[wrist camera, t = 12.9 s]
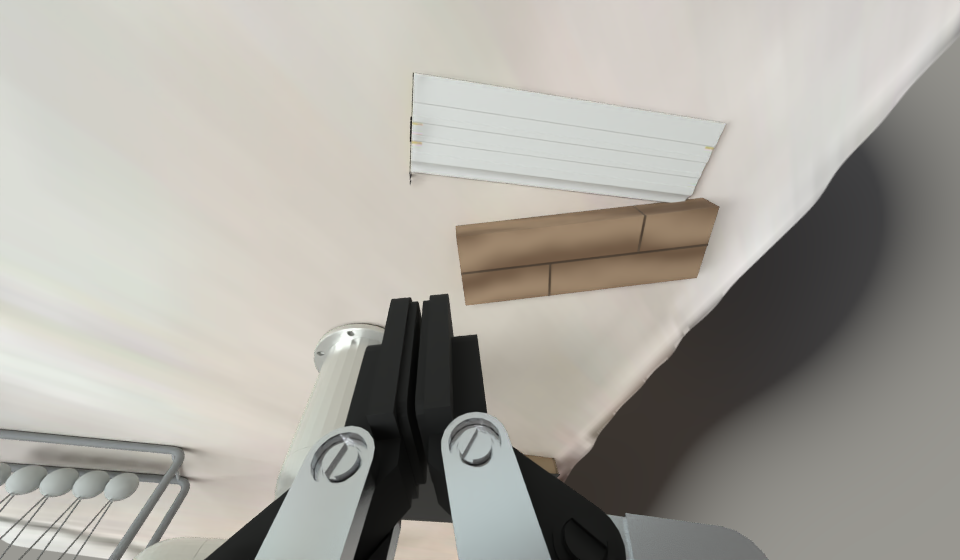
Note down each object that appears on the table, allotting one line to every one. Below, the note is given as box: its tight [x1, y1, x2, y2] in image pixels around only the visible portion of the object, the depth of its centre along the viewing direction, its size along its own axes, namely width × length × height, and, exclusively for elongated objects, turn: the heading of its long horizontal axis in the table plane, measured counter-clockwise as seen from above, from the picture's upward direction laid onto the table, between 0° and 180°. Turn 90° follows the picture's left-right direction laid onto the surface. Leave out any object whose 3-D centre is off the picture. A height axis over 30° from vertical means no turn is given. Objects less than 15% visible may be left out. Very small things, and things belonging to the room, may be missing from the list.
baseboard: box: [409, 73, 726, 203], centre depth 34 cm, size 30×3×10 cm
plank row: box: [456, 198, 719, 305], centre depth 39 cm, size 9×28×3 cm, turn 95°
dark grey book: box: [401, 455, 560, 523], centre depth 67 cm, size 33×4×24 cm
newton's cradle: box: [0, 429, 190, 560], centre depth 47 cm, size 30×10×18 cm, turn 71°
